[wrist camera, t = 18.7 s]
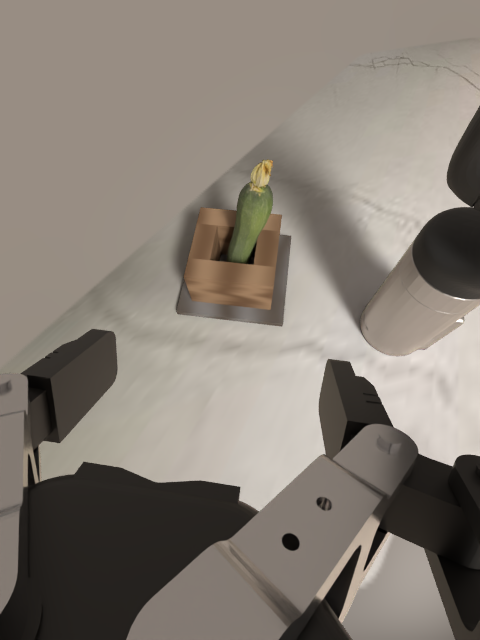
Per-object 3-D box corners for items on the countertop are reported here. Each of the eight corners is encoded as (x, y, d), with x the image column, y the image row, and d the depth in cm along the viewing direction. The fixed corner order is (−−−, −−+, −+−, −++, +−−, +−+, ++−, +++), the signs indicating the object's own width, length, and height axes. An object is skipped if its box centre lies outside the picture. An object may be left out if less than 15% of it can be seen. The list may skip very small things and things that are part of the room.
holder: (290, 239, 56) (296, 205, 49) (282, 326, 49) (287, 301, 42) (197, 230, 57) (190, 196, 50) (177, 313, 51) (165, 288, 43)
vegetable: (224, 260, 53) (248, 138, 36) (250, 263, 54) (286, 145, 37) (223, 282, 51) (248, 162, 34) (250, 285, 51) (288, 169, 35)
